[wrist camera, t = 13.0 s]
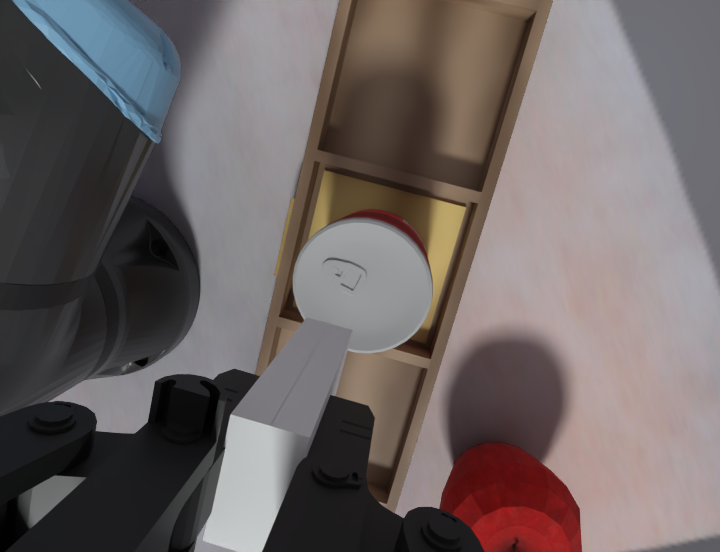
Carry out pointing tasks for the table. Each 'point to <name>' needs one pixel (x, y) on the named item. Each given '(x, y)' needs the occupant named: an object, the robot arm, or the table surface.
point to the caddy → (408, 177)
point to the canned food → (366, 279)
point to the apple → (512, 501)
